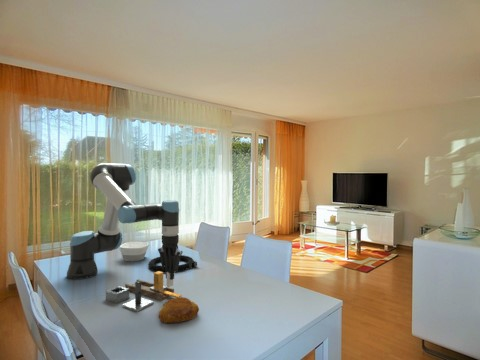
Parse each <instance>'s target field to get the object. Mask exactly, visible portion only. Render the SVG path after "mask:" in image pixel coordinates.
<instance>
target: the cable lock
mask: <svg viewBox="0 0 480 360" xmlns="http://www.w3.org/2000/svg"><path fill="white" fill-rule="evenodd" d="M181 261H182V262H186V263H184V264H179V267H178V270H177V271H175V272H174V273H177V272H183V271H186V270H190V269H194V268H195V269H196V268H197V267H198V262H197V260H195V259H193V258H192V257H191V256H188V255H184V254H183V255H181V257H180V262H181ZM159 263H161V259H160V256H158V257H154V258H152V259H150V261H149V262H148V268H149V269H150V270H151V271H152V272H153V271H154V272H157V271H160V272H163V273H166V272H165V270H163V269H162V265H157V264H159ZM164 267H165V266H164Z"/></svg>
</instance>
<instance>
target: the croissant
mask: <svg viewBox="0 0 480 360" xmlns="http://www.w3.org/2000/svg"><path fill="white" fill-rule="evenodd" d="M199 311H200V308H199V306H198V304H197V303H196V302H194V301H192V300H190V299H189V298H187V297H183V296H181V297H179V298H175V297H173V298H171V299H168V300H167V301H166V302H165V303H164V304H163V305H162V307H161V308H160V310H159V311H158V319H160V321H161V322H162V323H164V324H169V323H170V324H171V323H180V322H181V323H182V322H186V321H189V320H193V319H195V318H196V317H197V316H198V314H199Z"/></svg>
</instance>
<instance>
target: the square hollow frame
mask: <svg viewBox="0 0 480 360" xmlns="http://www.w3.org/2000/svg"><path fill="white" fill-rule="evenodd" d="M129 298H130V291H129V289H128V288H125V286H121V285H118V286H115V287H113V288H111V289H108V290H105V300H106V301H107V302H111V303H114V304H119V303H121V302H123V301H124V300H127V299H129Z"/></svg>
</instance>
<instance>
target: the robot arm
mask: <svg viewBox="0 0 480 360" xmlns="http://www.w3.org/2000/svg"><path fill="white" fill-rule="evenodd" d="M136 178H137V175H136V171H135V169H134V167H133V166H132V165H131V164H127V163H110V162H109V163H108V162H105V163H104V162H103V163H99V164H97V165H96V166H93V168H92V170H91V172H90V174H89V179H90V183H91V185H92V186H93V187H94V188H95V189H97V190H99V191H100V192H101V193H102V194H103V195H104V196H105V197H106V202H105V203H106V204H105V209H104V214H103V217H102V225H101V226H99V227H98V229H97V232H95V231H93V230H84V231H80V232H76V233H73V235H71V237H70V243H69V247H70V249H69V250H70V251H69V253H70V254H69V255H70V259H69V260H70V263H69V265H68V267H67V271H66V278H67V279H69V280H83V279H84V280H85V279H87V278H91V277H94V276H96V275H97V274H98V271H99V270H98V266H97V264H96V260H95V254H100V253H104V252H105V253H106V252H112V251H114V250H117V249H119V247H120V245H122V244H123V233H122V231H121V230H120V228H119V223H121V224H133V223H140V222H149V221H154V220H155V221H156V220H159V221H161V234H162V235H161V244H162V245H161V247H160V248H159V247H158V249H157V252H158V254H159V257H160V259H161V262H160V263H161V265H160V266H162V269H163V270H165V272H164V273H165V279H166V287H169V288H171V287H173V286H174V279H175V273H176V272H175V271H177V270H178V267H179V265H180V263H181V260H180V257H181V255H182V254H183V250H180V249H179V245H178V244H179V241H180V240H179V239H180V238H179V237H180V236H179V233H180V232H179V231H180V230H179V225H180V224H179V222H180V221H179V220H180V219H179V217H180V216H179V215H180V207H179V206H180V205H179V201H178V200H171V199H170V200H162V202H161V203H158V202H150V203H146V204H136V203H135V202H134V200H132V198H130V197H129V195H128V194H127V193H126V192H127V191H128V190H129V189H130V186H131V185H134V184H135V182H136ZM164 266H165V267H164Z"/></svg>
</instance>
